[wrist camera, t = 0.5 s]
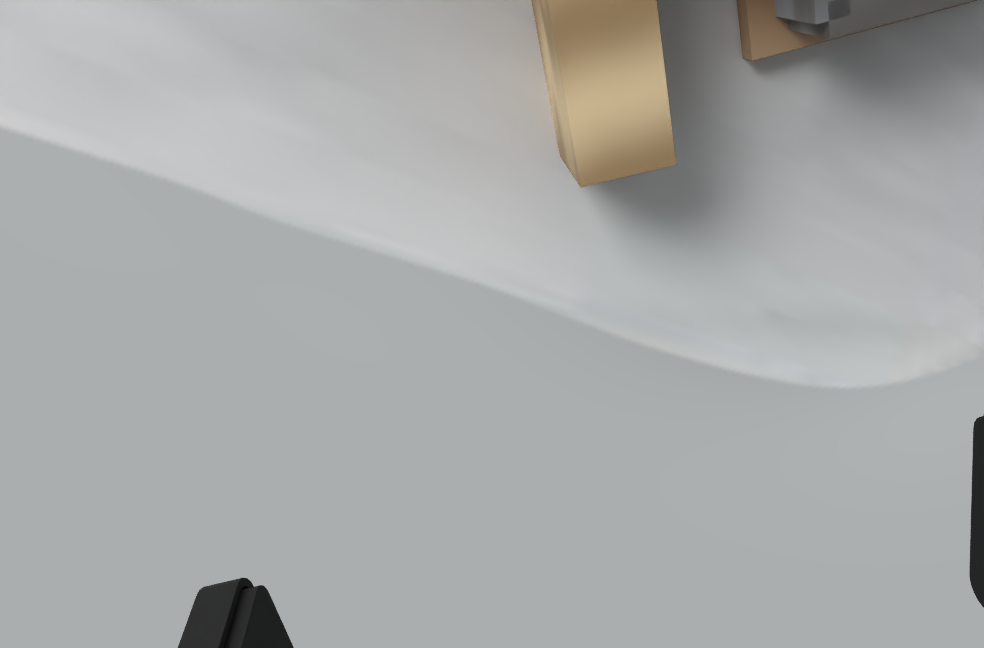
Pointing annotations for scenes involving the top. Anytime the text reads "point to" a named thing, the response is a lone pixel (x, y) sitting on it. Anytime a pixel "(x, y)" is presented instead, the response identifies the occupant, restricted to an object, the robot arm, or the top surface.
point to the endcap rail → (819, 20)
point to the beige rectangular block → (606, 86)
